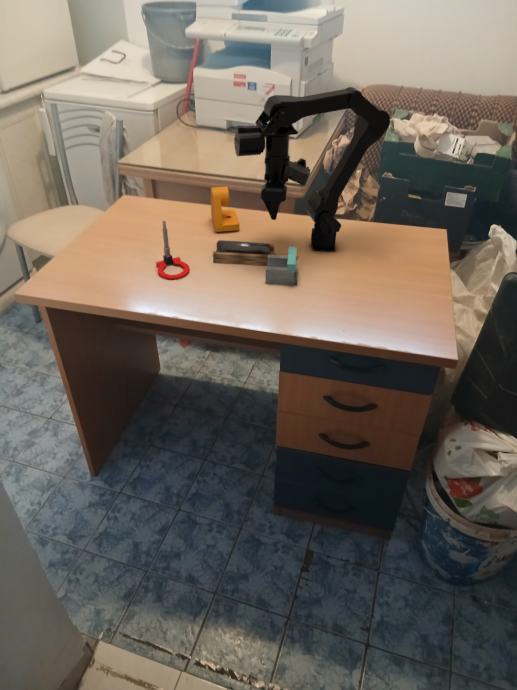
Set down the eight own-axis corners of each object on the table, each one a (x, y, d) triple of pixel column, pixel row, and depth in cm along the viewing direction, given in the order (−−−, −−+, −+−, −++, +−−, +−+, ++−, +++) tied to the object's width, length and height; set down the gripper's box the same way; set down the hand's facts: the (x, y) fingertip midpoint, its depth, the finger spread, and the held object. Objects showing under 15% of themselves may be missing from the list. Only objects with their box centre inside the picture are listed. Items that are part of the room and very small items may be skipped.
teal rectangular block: (296, 253, 134) (296, 247, 133) (294, 271, 127) (295, 264, 126) (288, 253, 134) (288, 246, 133) (286, 271, 127) (287, 264, 126)
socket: (297, 270, 136) (298, 256, 133) (296, 285, 130) (297, 271, 128) (267, 268, 137) (268, 254, 134) (265, 283, 131) (265, 269, 128)
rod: (269, 251, 141) (270, 240, 139) (268, 259, 139) (268, 247, 136) (219, 248, 142) (219, 237, 140) (217, 256, 140) (217, 244, 137)
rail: (273, 252, 143) (274, 243, 142) (271, 266, 138) (272, 257, 136) (217, 249, 145) (217, 240, 143) (213, 262, 139) (212, 254, 137)
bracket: (239, 232, 153) (239, 194, 145) (215, 234, 152) (214, 195, 144) (234, 216, 161) (233, 179, 153) (211, 218, 160) (209, 181, 152)
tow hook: (194, 277, 134) (182, 259, 140) (191, 233, 125) (178, 216, 131) (163, 284, 131) (152, 266, 137) (158, 240, 122) (146, 223, 129)
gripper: (308, 167, 118) (304, 229, 128) (310, 141, 133) (306, 199, 143) (261, 165, 119) (260, 227, 129) (267, 140, 133) (266, 197, 143)
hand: (275, 211), depth 136 cm, fingers open, 9 cm apart
